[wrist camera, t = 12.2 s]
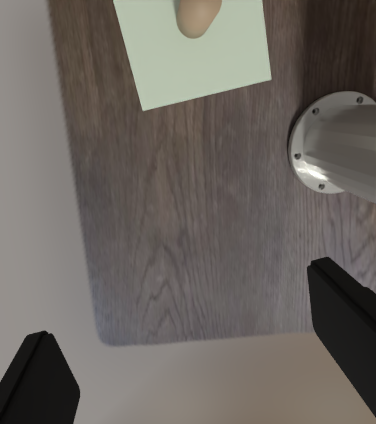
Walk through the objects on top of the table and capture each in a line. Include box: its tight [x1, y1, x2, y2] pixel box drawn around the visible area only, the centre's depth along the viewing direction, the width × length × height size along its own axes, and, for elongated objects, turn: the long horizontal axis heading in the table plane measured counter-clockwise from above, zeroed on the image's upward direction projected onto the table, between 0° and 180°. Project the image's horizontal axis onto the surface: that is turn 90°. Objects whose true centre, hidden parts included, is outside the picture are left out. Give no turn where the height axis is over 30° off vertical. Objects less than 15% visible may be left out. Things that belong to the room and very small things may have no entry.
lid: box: [113, 0, 271, 111], centre depth 25 cm, size 13×13×6 cm
